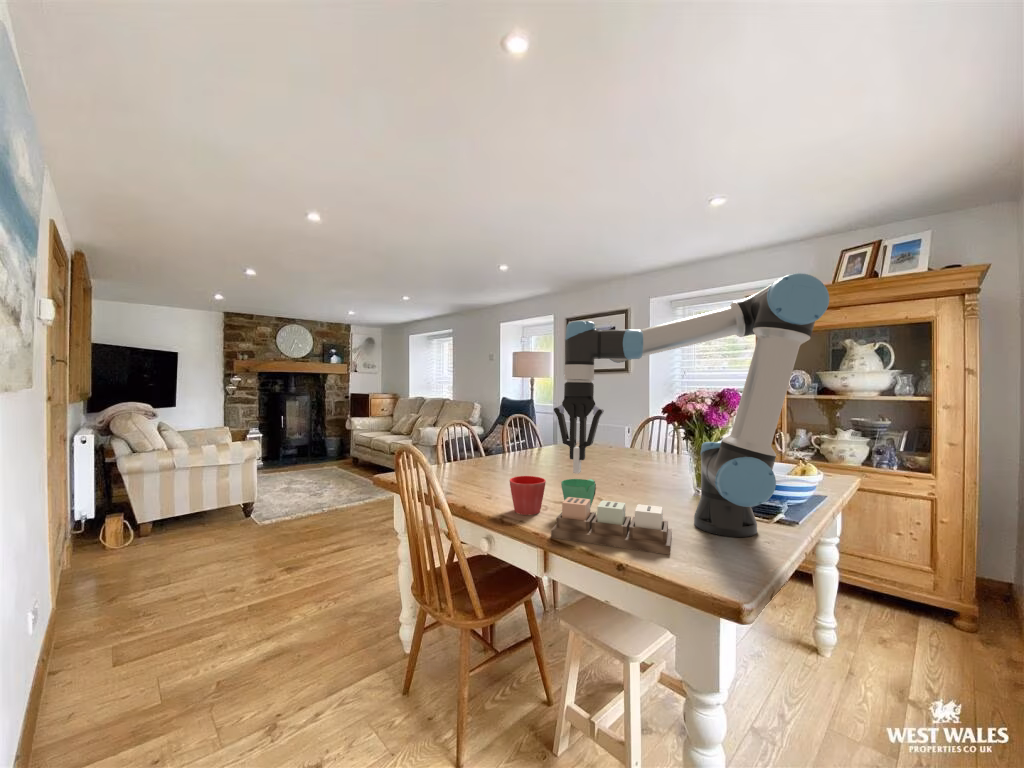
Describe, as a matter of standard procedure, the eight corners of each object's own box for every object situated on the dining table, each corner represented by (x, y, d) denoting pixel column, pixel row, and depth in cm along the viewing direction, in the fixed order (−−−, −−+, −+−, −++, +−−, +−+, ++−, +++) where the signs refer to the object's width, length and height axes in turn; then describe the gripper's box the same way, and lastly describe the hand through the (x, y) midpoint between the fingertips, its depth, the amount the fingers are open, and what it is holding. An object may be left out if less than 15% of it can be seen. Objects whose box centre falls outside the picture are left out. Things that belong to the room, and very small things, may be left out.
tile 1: (662, 523, 104) (662, 506, 104) (661, 530, 99) (661, 513, 99) (637, 520, 106) (637, 503, 106) (634, 527, 101) (634, 510, 101)
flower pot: (546, 517, 122) (546, 483, 122) (509, 517, 122) (509, 483, 122) (544, 506, 133) (544, 475, 133) (509, 506, 133) (509, 475, 133)
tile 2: (625, 518, 108) (625, 502, 108) (622, 525, 102) (622, 508, 102) (601, 515, 110) (601, 499, 110) (597, 522, 104) (597, 506, 104)
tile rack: (671, 537, 106) (671, 519, 106) (670, 554, 95) (670, 534, 95) (563, 522, 117) (564, 506, 117) (551, 537, 106) (551, 519, 106)
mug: (586, 524, 115) (586, 488, 115) (555, 518, 121) (555, 483, 121) (607, 511, 127) (607, 478, 127) (578, 506, 133) (578, 474, 133)
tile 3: (590, 514, 111) (590, 498, 111) (585, 521, 105) (585, 504, 105) (568, 511, 113) (568, 496, 113) (562, 518, 108) (562, 502, 108)
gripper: (606, 382, 110) (604, 472, 110) (558, 381, 115) (556, 467, 115) (601, 382, 103) (599, 477, 103) (550, 381, 108) (548, 472, 108)
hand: (577, 472), depth 109 cm, fingers closed
